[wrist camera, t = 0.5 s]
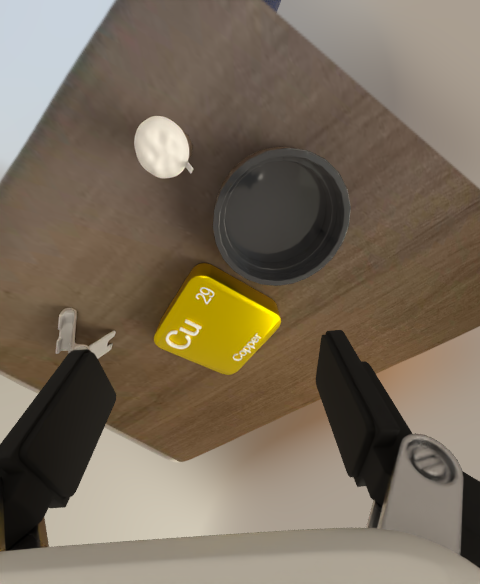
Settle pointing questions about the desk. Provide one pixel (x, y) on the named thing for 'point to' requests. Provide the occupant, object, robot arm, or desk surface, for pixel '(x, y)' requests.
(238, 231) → the pan
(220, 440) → the desk surface
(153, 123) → the milkshake
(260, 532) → the robot arm
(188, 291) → the element tile
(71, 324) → the tablet stand
